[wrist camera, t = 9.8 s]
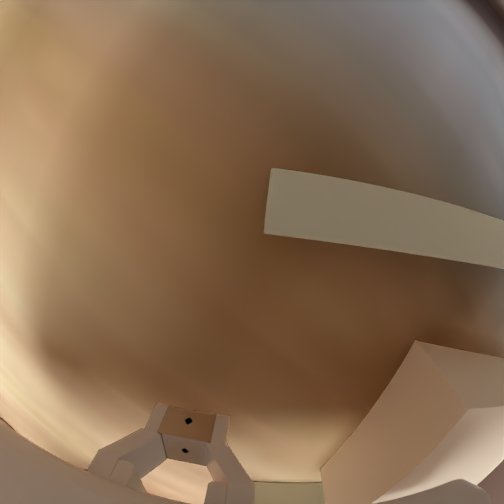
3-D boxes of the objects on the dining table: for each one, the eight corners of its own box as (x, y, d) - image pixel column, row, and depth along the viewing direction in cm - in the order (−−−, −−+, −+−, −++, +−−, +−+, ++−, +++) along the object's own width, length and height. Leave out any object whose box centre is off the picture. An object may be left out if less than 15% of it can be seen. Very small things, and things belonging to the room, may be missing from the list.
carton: (412, 337, 11) (468, 408, 6) (511, 357, 11) (552, 397, 6) (319, 465, 13) (328, 531, 8) (430, 461, 13) (450, 506, 8)
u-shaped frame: (270, 172, 9) (271, 167, 6) (563, 247, 9) (593, 259, 6) (228, 488, 14) (224, 522, 11) (455, 464, 13) (466, 486, 10)
